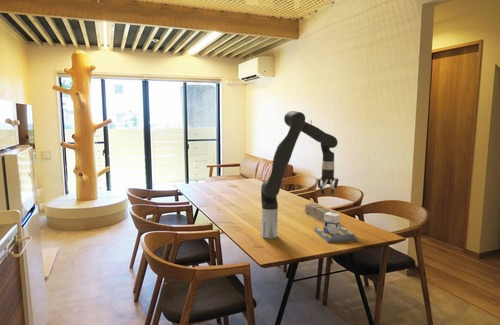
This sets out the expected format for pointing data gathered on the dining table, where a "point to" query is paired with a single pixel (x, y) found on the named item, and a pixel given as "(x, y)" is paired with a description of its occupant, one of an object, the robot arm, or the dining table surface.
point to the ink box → (331, 223)
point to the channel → (337, 236)
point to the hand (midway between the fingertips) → (327, 194)
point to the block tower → (317, 211)
